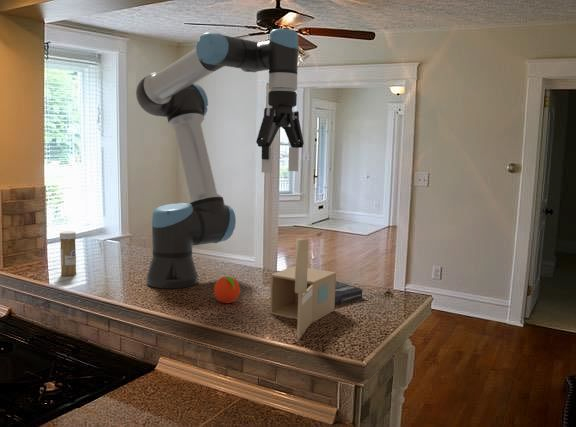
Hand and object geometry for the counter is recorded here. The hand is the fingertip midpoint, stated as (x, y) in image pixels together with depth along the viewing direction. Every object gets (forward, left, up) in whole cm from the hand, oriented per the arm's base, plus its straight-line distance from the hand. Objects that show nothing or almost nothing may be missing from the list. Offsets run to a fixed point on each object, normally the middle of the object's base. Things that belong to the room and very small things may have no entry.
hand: (280, 172), depth 143 cm
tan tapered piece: (+19, -19, -34) cm, 44 cm away
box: (+8, +10, -36) cm, 38 cm away
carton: (+12, -7, -35) cm, 37 cm away
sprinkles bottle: (-66, -17, -35) cm, 77 cm away
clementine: (-8, -12, -35) cm, 38 cm away
